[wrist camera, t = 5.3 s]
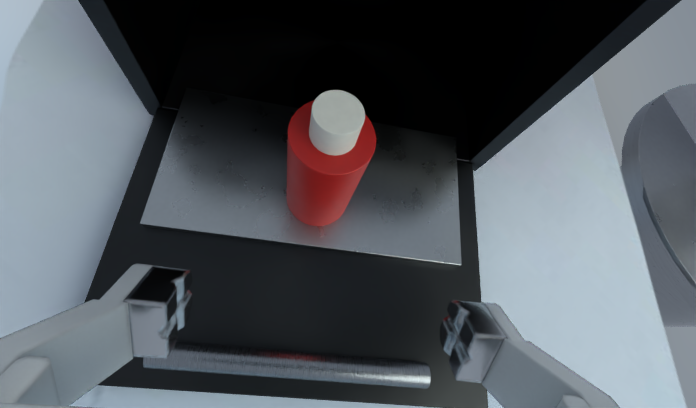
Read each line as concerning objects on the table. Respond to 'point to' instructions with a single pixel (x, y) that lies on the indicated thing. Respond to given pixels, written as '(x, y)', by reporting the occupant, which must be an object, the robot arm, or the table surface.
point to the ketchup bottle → (327, 156)
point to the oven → (369, 196)
